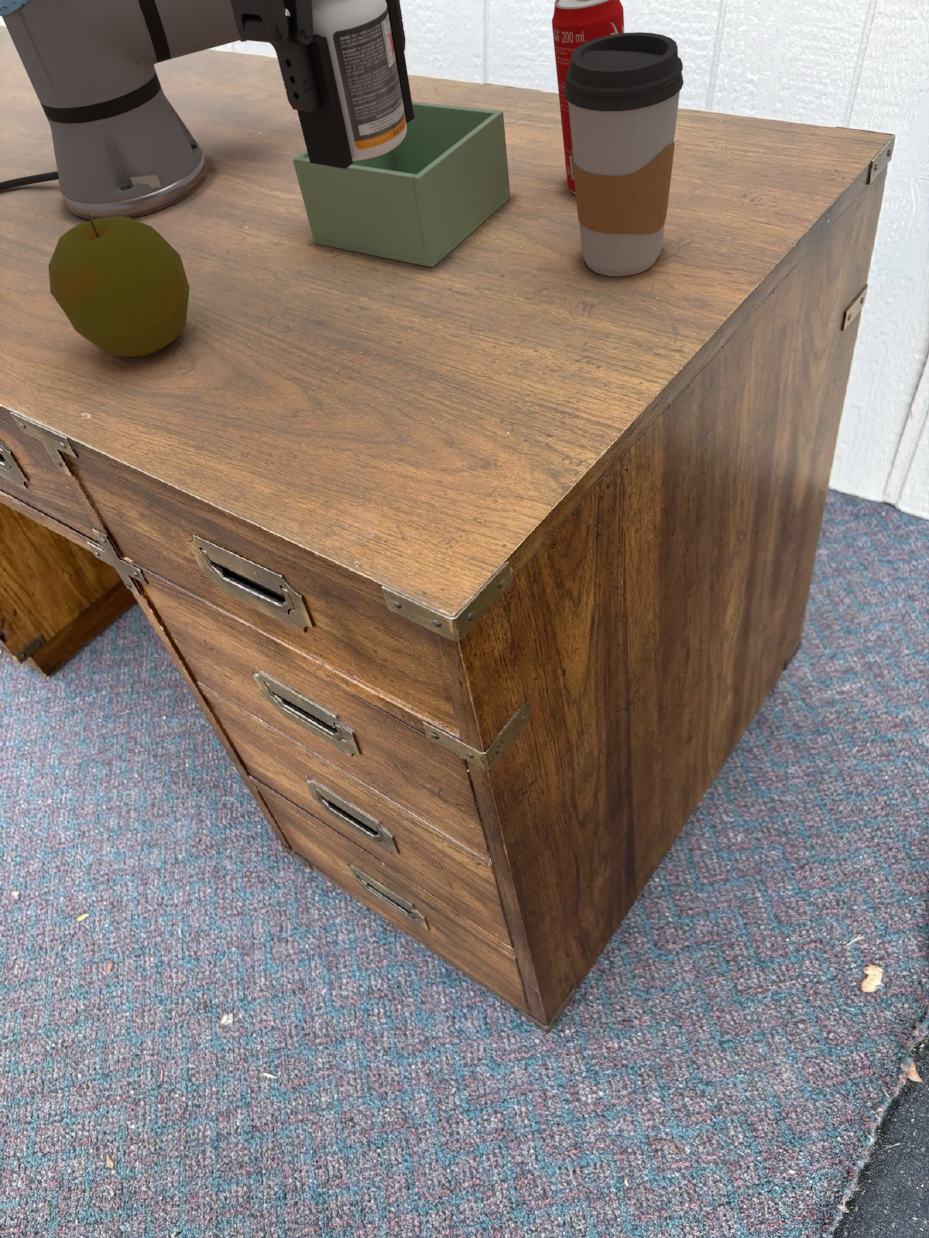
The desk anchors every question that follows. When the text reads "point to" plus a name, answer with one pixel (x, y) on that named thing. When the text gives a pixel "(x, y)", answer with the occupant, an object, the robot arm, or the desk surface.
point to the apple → (120, 285)
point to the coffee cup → (623, 146)
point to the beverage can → (577, 19)
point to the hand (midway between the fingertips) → (363, 139)
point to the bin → (413, 187)
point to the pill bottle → (363, 72)
